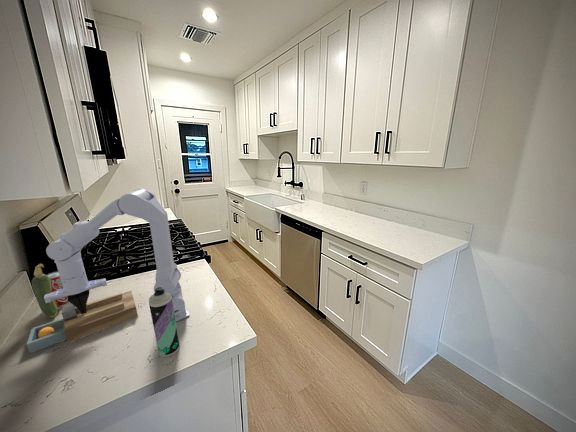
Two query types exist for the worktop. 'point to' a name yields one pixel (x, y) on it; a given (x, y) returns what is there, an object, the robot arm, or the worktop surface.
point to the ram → (69, 312)
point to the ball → (45, 332)
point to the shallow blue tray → (39, 343)
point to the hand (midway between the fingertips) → (84, 312)
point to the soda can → (57, 288)
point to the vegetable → (43, 292)
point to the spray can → (164, 322)
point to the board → (101, 315)
